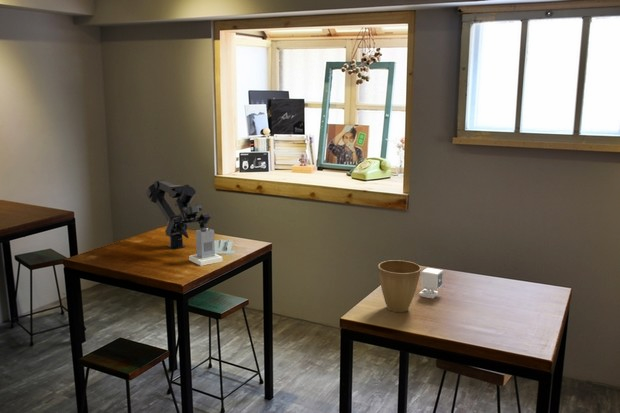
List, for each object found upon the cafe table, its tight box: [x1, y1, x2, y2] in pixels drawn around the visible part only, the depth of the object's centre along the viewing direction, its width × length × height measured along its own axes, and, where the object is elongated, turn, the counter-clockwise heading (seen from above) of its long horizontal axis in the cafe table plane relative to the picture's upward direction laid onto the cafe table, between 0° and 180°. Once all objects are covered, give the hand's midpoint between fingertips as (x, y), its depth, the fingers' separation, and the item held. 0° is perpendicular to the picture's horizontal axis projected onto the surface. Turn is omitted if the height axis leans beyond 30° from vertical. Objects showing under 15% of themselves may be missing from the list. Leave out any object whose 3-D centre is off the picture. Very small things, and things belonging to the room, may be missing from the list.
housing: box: [195, 226, 215, 259], centre depth 275 cm, size 5×6×13 cm
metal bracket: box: [214, 238, 236, 255], centre depth 293 cm, size 14×6×15 cm
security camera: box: [418, 267, 444, 299], centre depth 232 cm, size 6×7×10 cm
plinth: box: [188, 253, 224, 267], centre depth 277 cm, size 11×11×2 cm
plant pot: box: [377, 259, 422, 313], centre depth 218 cm, size 15×15×16 cm
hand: (197, 236), depth 281 cm, fingers open, 9 cm apart
